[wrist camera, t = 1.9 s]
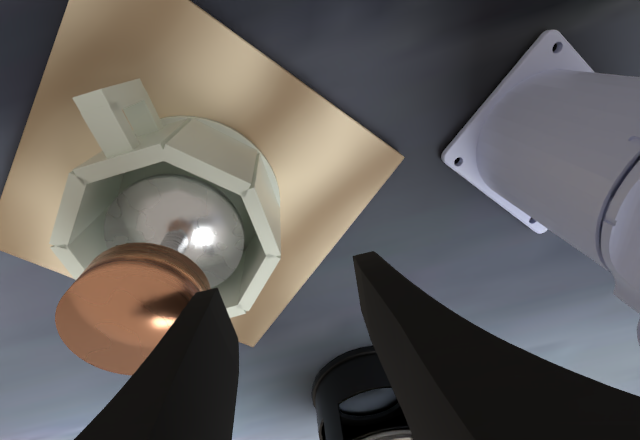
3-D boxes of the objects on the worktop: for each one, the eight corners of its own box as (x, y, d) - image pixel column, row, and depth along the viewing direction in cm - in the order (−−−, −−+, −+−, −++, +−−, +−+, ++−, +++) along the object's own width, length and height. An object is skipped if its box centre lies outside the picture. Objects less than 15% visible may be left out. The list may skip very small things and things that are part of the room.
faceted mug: (299, 244, 20) (306, 301, 16) (158, 285, 20) (125, 353, 16) (231, 50, 15) (212, 54, 11) (44, 107, 15) (-50, 134, 11)
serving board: (398, 152, 19) (404, 157, 18) (254, 336, 24) (253, 347, 24) (104, -62, 14) (92, -69, 13) (-2, 234, 19) (-16, 244, 18)
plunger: (262, 266, 16) (255, 364, 11) (150, 298, 16) (96, 409, 11) (214, 156, 14) (179, 222, 9) (82, 196, 14) (-28, 283, 9)
